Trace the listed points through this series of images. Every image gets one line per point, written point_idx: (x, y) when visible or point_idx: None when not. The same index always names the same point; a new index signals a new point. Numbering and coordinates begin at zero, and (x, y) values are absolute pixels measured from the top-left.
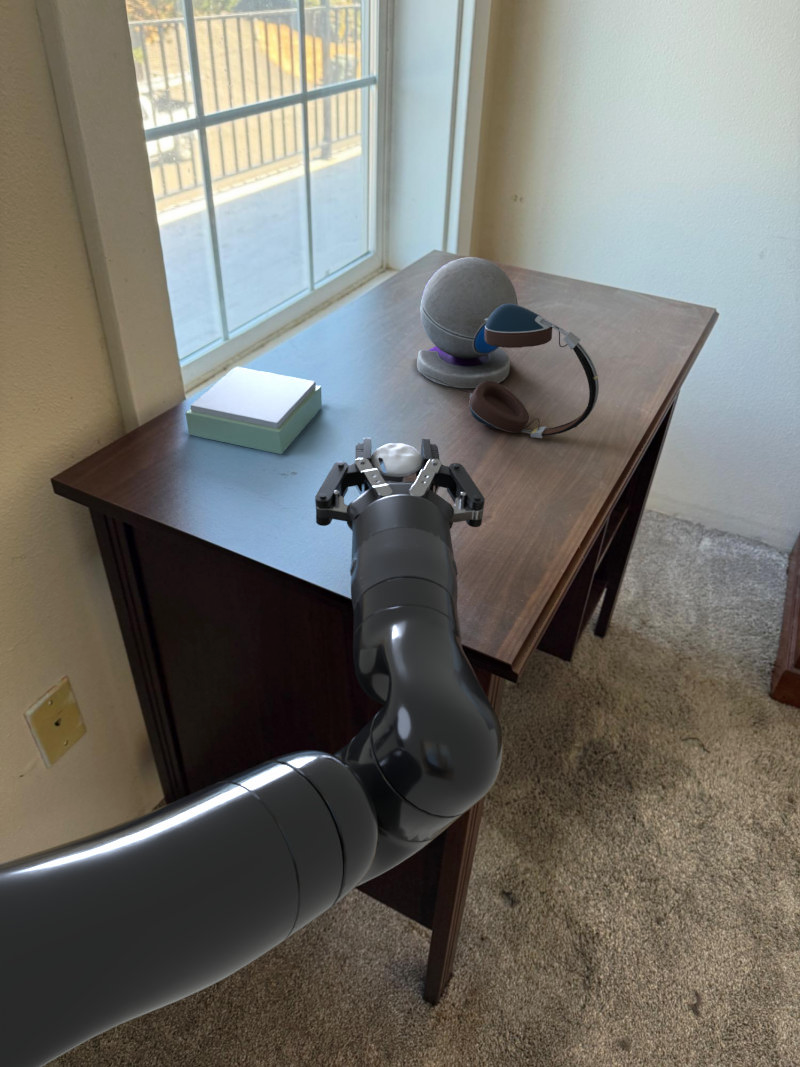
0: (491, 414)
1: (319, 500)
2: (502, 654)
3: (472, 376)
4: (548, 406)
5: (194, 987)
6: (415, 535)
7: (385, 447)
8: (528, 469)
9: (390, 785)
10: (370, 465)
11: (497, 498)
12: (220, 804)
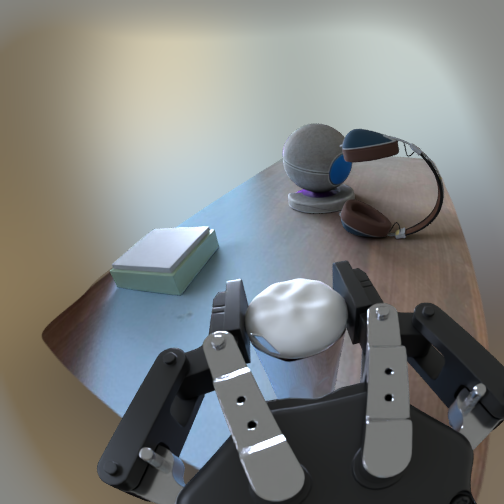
0: (363, 224)
1: (103, 479)
2: None
3: (332, 202)
4: (393, 214)
5: None
6: None
7: (269, 294)
8: (410, 267)
9: None
10: (237, 352)
11: (400, 305)
12: None
